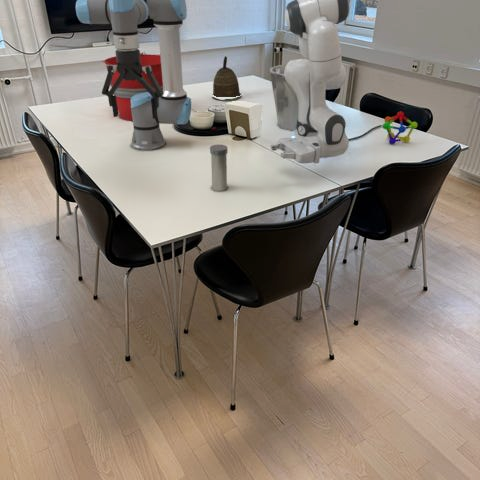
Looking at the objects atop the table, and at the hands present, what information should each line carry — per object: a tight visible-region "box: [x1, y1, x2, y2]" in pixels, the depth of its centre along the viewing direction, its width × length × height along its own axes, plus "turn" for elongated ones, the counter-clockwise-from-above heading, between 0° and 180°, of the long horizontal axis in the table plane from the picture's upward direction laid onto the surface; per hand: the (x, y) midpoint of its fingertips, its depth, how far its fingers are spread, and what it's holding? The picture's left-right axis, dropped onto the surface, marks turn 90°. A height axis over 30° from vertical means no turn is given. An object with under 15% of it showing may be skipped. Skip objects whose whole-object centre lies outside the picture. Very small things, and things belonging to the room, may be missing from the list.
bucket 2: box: [269, 64, 298, 131], centre depth 226 cm, size 30×30×28 cm
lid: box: [209, 144, 229, 155], centre depth 160 cm, size 6×6×2 cm
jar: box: [210, 153, 228, 192], centre depth 163 cm, size 6×6×16 cm
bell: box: [212, 56, 242, 97], centre depth 278 cm, size 19×26×20 cm
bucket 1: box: [100, 51, 163, 122], centre depth 241 cm, size 35×35×30 cm
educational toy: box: [382, 110, 418, 145], centre depth 207 cm, size 16×13×15 cm
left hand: (135, 116), depth 150 cm, fingers open, 13 cm apart
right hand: (276, 151), depth 168 cm, fingers open, 8 cm apart
